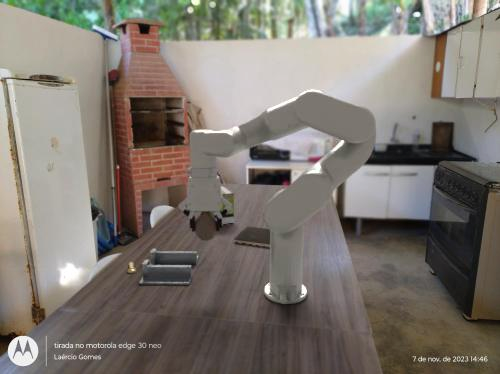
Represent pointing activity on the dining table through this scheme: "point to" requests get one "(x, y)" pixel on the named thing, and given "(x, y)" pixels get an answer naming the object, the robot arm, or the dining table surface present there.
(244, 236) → the hardcover book
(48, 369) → the dining table surface
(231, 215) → the tea box
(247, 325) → the dining table surface
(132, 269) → the brass key
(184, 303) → the dining table surface
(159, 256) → the bracket
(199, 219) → the vase
